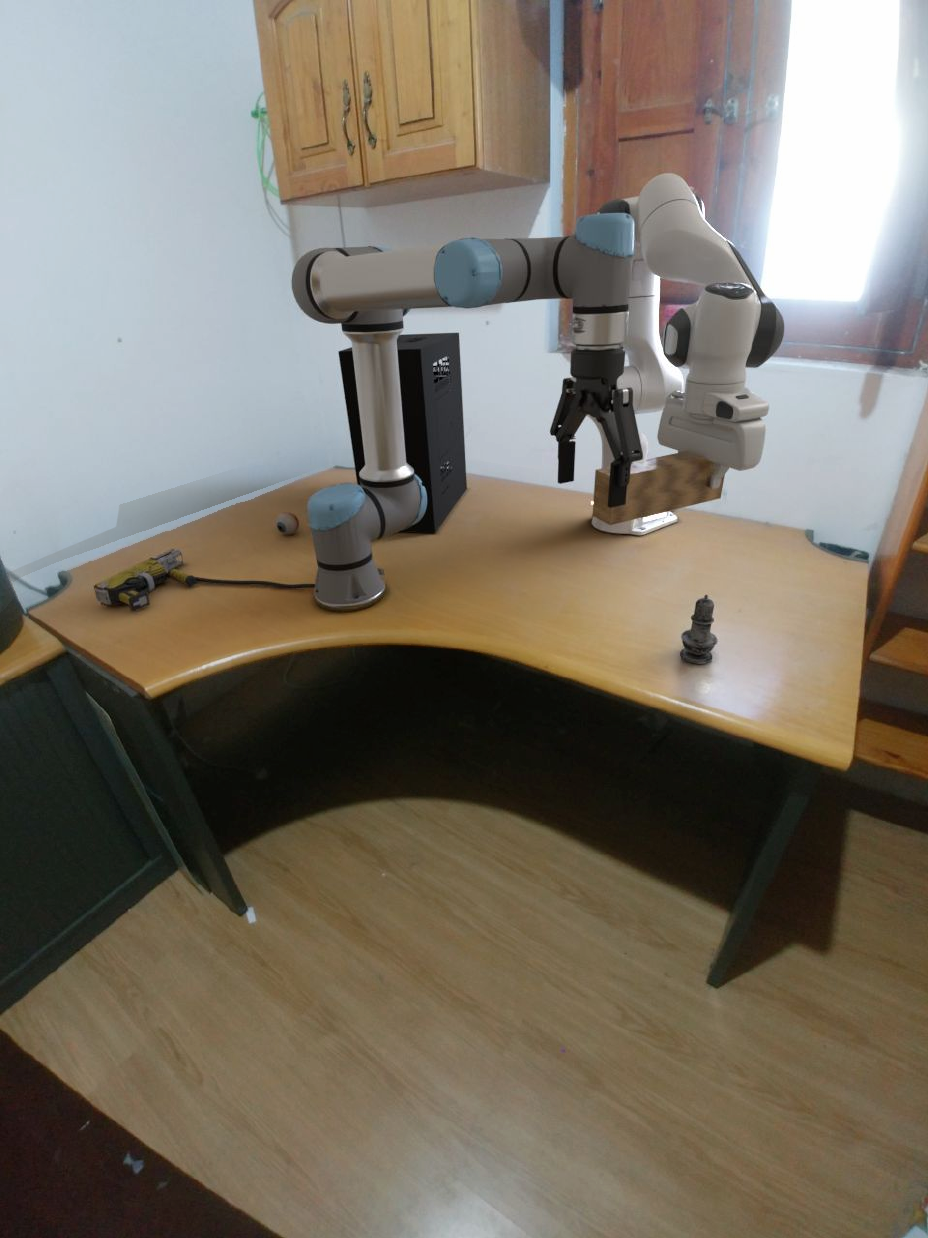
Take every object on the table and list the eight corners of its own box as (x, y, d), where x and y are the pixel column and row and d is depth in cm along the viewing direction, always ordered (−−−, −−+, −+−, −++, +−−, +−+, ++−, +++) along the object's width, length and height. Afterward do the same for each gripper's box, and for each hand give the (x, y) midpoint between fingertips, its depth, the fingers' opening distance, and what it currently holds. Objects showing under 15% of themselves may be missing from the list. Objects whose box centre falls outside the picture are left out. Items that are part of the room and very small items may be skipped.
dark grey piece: (716, 666, 102) (728, 603, 96) (680, 663, 103) (689, 601, 97) (711, 647, 107) (722, 587, 101) (676, 645, 108) (685, 585, 102)
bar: (700, 490, 108) (707, 446, 104) (720, 498, 104) (728, 453, 100) (592, 515, 100) (595, 469, 96) (610, 525, 97) (614, 477, 93)
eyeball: (273, 537, 164) (268, 516, 161) (287, 528, 169) (282, 508, 166) (291, 539, 161) (286, 518, 158) (305, 530, 166) (301, 510, 163)
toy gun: (219, 557, 146) (169, 546, 150) (142, 598, 126) (87, 585, 129) (222, 574, 148) (172, 563, 152) (147, 618, 128) (92, 604, 132)
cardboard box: (435, 533, 160) (420, 348, 138) (363, 530, 165) (338, 351, 142) (466, 488, 192) (459, 332, 169) (406, 486, 196) (390, 334, 174)
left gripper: (529, 342, 93) (528, 477, 104) (634, 357, 73) (619, 522, 84) (570, 337, 95) (565, 469, 106) (682, 351, 76) (662, 512, 86)
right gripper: (653, 391, 104) (645, 470, 111) (747, 412, 88) (730, 503, 95) (682, 386, 106) (672, 464, 113) (778, 406, 90) (760, 495, 97)
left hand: (589, 493), depth 95 cm, fingers open, 13 cm apart
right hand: (699, 482), depth 104 cm, fingers closed on bar, 5 cm apart
